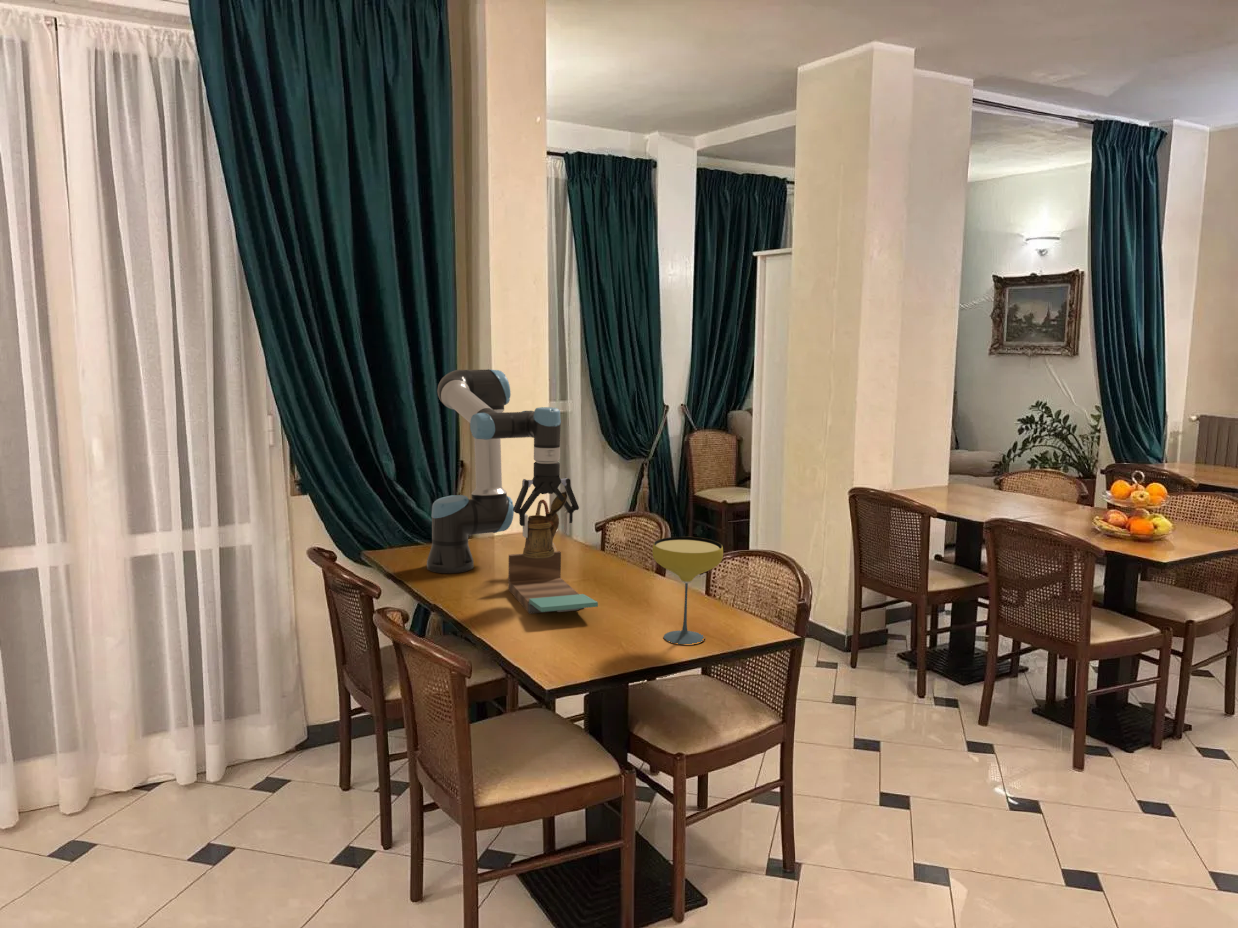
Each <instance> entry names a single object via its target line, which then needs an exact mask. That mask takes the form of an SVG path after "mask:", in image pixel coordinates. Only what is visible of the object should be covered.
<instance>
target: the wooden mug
mask: <svg viewBox="0 0 1238 928" xmlns="http://www.w3.org/2000/svg"><path fill="white" fill-rule="evenodd" d="M561 494H562V495H563V497H564V498H565V499H564V501H563V502H562V501H560V500H559V499H558V497H557V496H556V495H555V498H553V501H552V503H551V505H550V510H549V513H546V514H545V515H541V514H540V515H536V514H535V515H534V514H533V515H528V538H525V543H524V548H523V552H522V554H523V555H524V556H525V557H529V558H547V557H551V556H553V555H554V548H553V547H552V542H553V543H554V541H553V540H554V537H555V535H556V533H557V532H558V529H559V525H560V518H559V515H558V512H559V511H561V509H563V507H564V504H565V502H566V501H567V498H568V494H567V492H566V490H565V491H563V492H561ZM549 521H552V522H553V528H552V529H551V530H550V527H551V523H550V522H549ZM556 531H557V532H556Z"/></svg>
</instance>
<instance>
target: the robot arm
mask: <svg viewBox="0 0 1238 928" xmlns="http://www.w3.org/2000/svg"><path fill="white" fill-rule="evenodd" d="M510 385H511V384H510V383H509V379H508V377H507V376H506V374H505V372H503V371H502V370H499V369H490V368H487V369H455V370H453V371H449V372H447V374H445V375H444V376H443V377H442V378H441V379H440V381H439V383H438V385H437V397H438V398H439V400H440V402H441V403H442V404H443V405H444V407H446V408H448V409H450V410H454V411H456V412H457V413H458V414H459V415H460V416H461V417H462V418H463V419H464V420H466V421H467V422H468V423H469V427H470V428H469V430H470V432H471V436H472V437H473V439H474V440H473V441H474V466H475V468H474V469H475V471H474V472H475V473H474V474H475V489H474V490H473V491H472V492H471V499H469V497H468V496H467V495H465V494H458V495H455V494H454V495H452V494H451V495H448V496H443V497H440V498H437V499H435V500H434V502H433V503H432V506H431V515H430V516H431V547H430V551H429V553H428V556H427V560H426V570H428V571H430V572H432V573H436V574H437V573H438V574H459V573H464V572H468V571H471V570H472V569H474V564H475V563H474V558H473V555H472V552H471V549H470V546H469V536H470V535H482V534H491V533H493V534H497V533H499V532H504V531H507V530H508V529H509V528H510V526H511V525H512V523H513V519H514V514H518V515H519V521H518V522H519V525H520V526H521V527H522V537H523V538H525V539H526V538H528V517H529V515H528V514H527V512H528V511H529V509H530V507H532V505H533V503H534V502H535V501H536V499H537V498H538V497H539V496H540V495H547V494H549V495H553V494H555V497H556V496H557V497H558V499H559V500H560V501H562V502H563V501H564V499H565V498H564V497H563V495H562V494H561V493H562V492H561V490H560V489H559V486H560V485H561V484H562V486H564V488H565V491H566V493H567V498H569V499H568V500H569V501H570V503H569V502H568V501H567V500H566V502H565V504H564V506H563V507H564V508H565V510H566V511H564V514H563V524H564V525H563V534H565V535H566V536H570V524H572V523H573V514H574V513H575V512H576V511H578V510H579V509H580V506H579V504H578V501H577V499H576V496H575V494H574V491H573V489H572V486H571V485H572V484H571V479H570V478H569V477H564V478H561V475H560V474H561V473H560V471H561V470H560V469H561V463H560V462H559V461H560V460H561V446H560V445H561V423H562V420H561V419H562V418H561V411H560V409H559V408H557V407H551V406H547V407H543V406H541V407H536V408H535V409H534V411H533V410H523V411H516V412H514V411H513V412H512V411H511V412H506V411H505V406H506V405H508V404H509V403H510V400H511V395H512V394H511V386H510ZM504 411H505V412H504ZM521 438H523V439H525V438H531V439H532V438H533V460H534V463H533V477H532V479H526V478H523V479H522V486H521V489H520V492H519V493H518V496H517V498H516V501H515V504H513V503H514V501H513V499H512V498H511V497H510V496H508V495H507V493H508V492H507V491H506V490H505V489H504V488H503V480H502V479H503V478H502V473H503V472H502V447H501V442H502V441H501V439H521ZM531 485H533V486H534V487H533V489H532V491H531V493H530V494H529V496H528V498H527V499H526V500H525V498H526V496H527V493H528V491H529V488H530V487H531ZM524 500H525V502H524Z"/></svg>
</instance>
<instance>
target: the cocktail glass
mask: <svg viewBox="0 0 1238 928" xmlns="http://www.w3.org/2000/svg"><path fill="white" fill-rule="evenodd" d="M651 552H652V558H653V560H654V561H655V562H656V563H657V564H658V565H660V567H662V568H664V569H666V570H667V571H670V572H671V573H673V574H675V575H677V576H678V578H679V579H680V580H681V581H682V583H683V584H684V585H685V586H684V607H683V608H684V610H683V624H682V628H681V629H682V630H681V631H680V630H672V631H669V632H666V633H665V634H664V635H663V639H664V640H665V639H666V640H667V641H670V642H672V643H678V644H692V643H697V642H701V641H703V640H702V639H703V638H704V637H705V636H704V634H702V633H700V632H697V631H691V630H688V622H687V621H688V618H687V617H688V616H687V615H688V587H689V585H688V584H690V583H691V582H692V581H693V580H694V579H695V578H696V577H697V576H698V575H702V574H703V573H706V572H708V571H711V570H713V569H715V568H716V567H717V566H718V565H720V564H721V562H722V561H723V558H724V547H723V544H722V543H720V542H718V541H715V540H712V539H708V538H703V537H694V536H671V537H670V536H669V537H663V538H660V539H657V540H655V541H654V542H653V544H652V551H651ZM699 633H700V634H699ZM701 634H702V635H701ZM703 636H704V637H703ZM666 640H665V641H666ZM667 641H666V642H667ZM672 643H671V644H672Z"/></svg>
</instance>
